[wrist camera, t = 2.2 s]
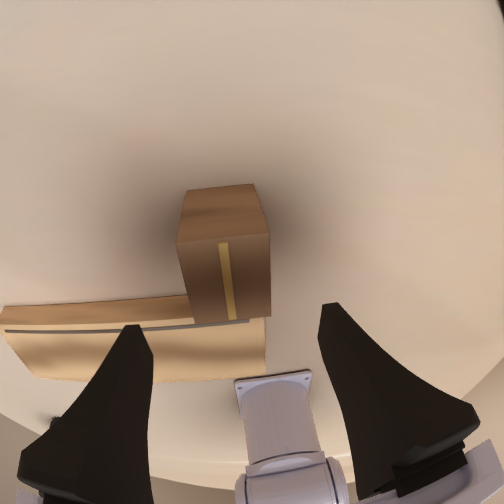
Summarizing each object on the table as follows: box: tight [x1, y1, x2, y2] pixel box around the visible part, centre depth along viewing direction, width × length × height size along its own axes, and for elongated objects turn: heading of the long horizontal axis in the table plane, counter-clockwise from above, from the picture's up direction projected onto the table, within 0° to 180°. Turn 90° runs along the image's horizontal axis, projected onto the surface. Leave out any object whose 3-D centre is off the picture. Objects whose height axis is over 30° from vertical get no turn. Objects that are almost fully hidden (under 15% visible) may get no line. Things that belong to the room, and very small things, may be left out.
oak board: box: [0, 295, 266, 383], centre depth 23 cm, size 8×24×2 cm, turn 93°
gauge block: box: [176, 184, 271, 324], centre depth 17 cm, size 7×4×6 cm, turn 3°
